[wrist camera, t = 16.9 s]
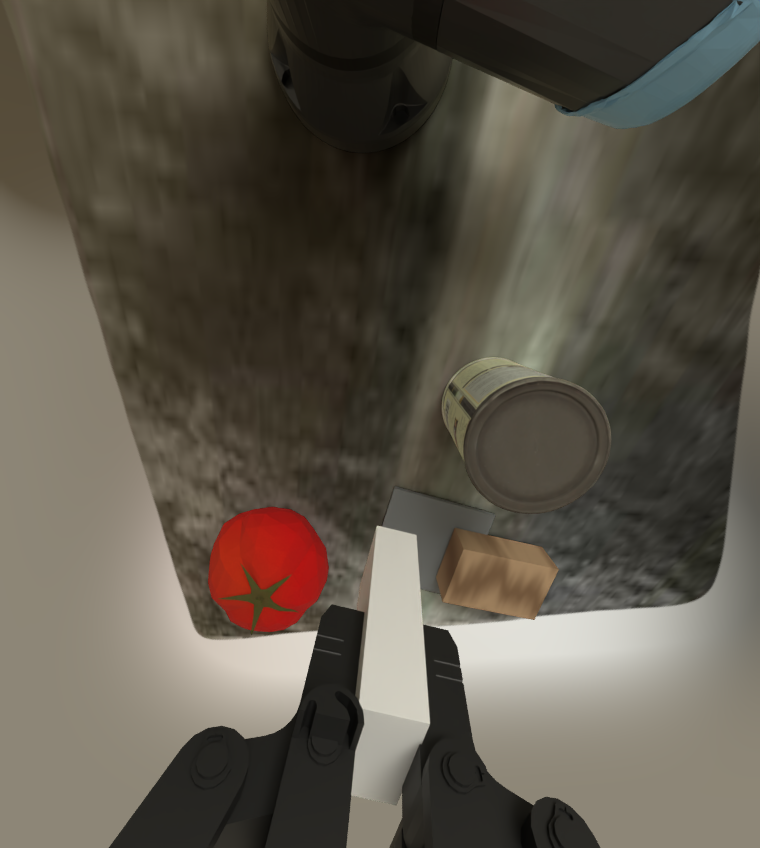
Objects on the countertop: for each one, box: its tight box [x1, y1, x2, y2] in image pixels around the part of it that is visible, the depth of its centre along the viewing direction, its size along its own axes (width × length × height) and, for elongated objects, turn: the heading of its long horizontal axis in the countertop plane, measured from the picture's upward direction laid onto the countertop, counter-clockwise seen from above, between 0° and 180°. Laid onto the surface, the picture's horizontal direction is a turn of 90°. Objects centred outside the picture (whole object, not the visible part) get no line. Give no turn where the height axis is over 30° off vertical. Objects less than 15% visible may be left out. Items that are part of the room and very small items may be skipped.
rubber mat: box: [381, 486, 495, 594], centre depth 45 cm, size 12×12×1 cm
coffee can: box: [442, 357, 611, 514], centre depth 34 cm, size 10×10×14 cm
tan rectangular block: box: [436, 528, 559, 620], centre depth 44 cm, size 7×4×11 cm
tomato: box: [208, 507, 329, 635], centre depth 41 cm, size 13×12×11 cm
